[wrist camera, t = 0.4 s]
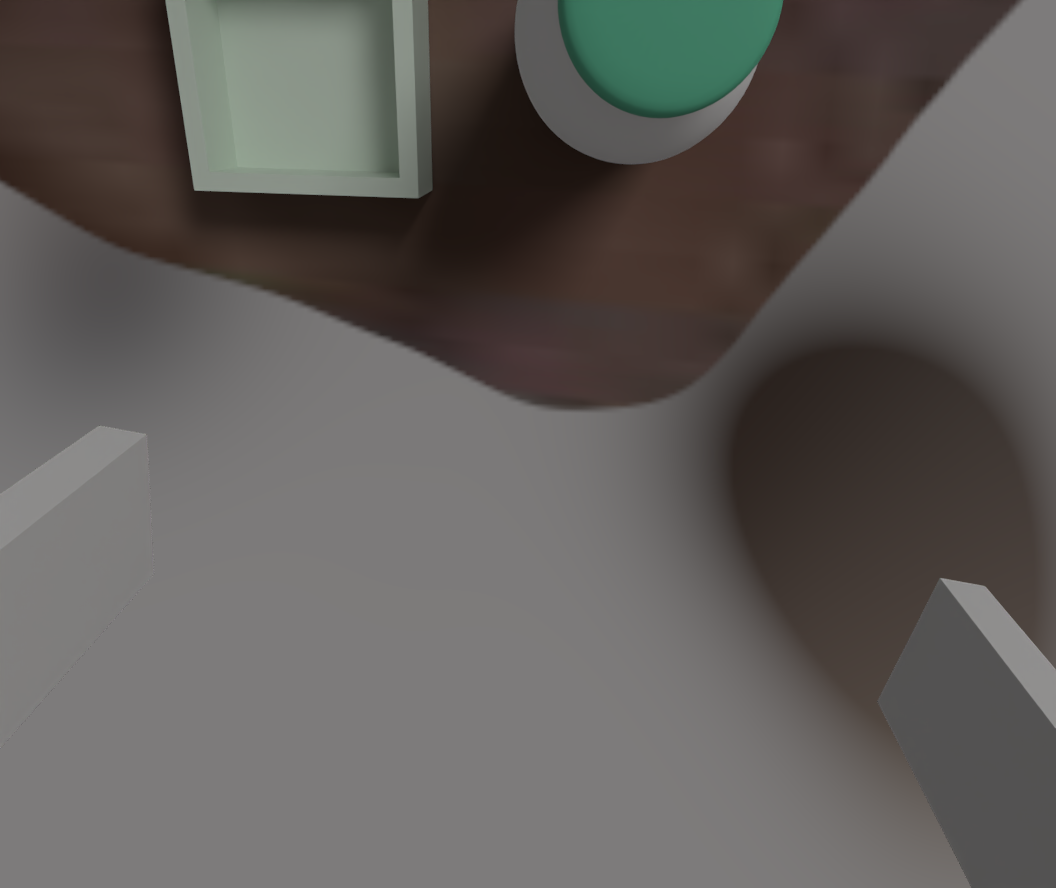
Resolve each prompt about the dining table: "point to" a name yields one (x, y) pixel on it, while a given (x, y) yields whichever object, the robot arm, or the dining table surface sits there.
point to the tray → (305, 95)
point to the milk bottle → (639, 69)
